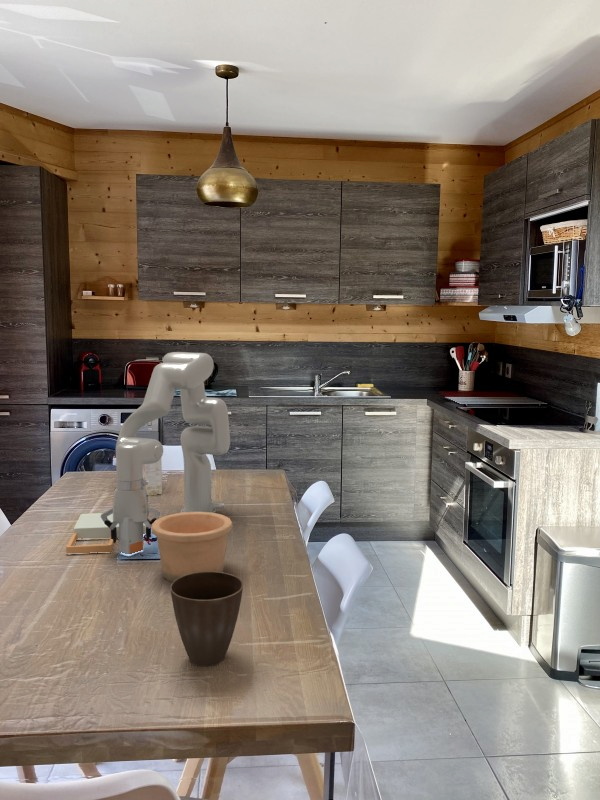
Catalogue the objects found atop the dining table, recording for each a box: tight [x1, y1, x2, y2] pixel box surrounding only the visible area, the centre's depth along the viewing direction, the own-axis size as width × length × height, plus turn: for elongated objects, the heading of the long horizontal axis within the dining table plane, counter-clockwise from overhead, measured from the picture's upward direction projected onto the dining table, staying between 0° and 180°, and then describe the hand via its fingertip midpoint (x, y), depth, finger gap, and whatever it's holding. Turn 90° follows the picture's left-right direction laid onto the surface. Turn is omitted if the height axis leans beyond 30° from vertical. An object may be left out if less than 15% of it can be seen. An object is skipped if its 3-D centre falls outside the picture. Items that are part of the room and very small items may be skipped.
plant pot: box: [169, 571, 244, 667], centre depth 143 cm, size 15×15×16 cm
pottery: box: [151, 512, 233, 583], centre depth 190 cm, size 22×22×14 cm
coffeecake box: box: [143, 457, 163, 496], centre depth 275 cm, size 15×7×20 cm, turn 25°
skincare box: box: [118, 517, 145, 554], centre depth 205 cm, size 6×4×12 cm
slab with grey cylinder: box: [65, 512, 146, 554], centre depth 219 cm, size 22×29×10 cm
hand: (131, 540), depth 205 cm, fingers open, 9 cm apart
